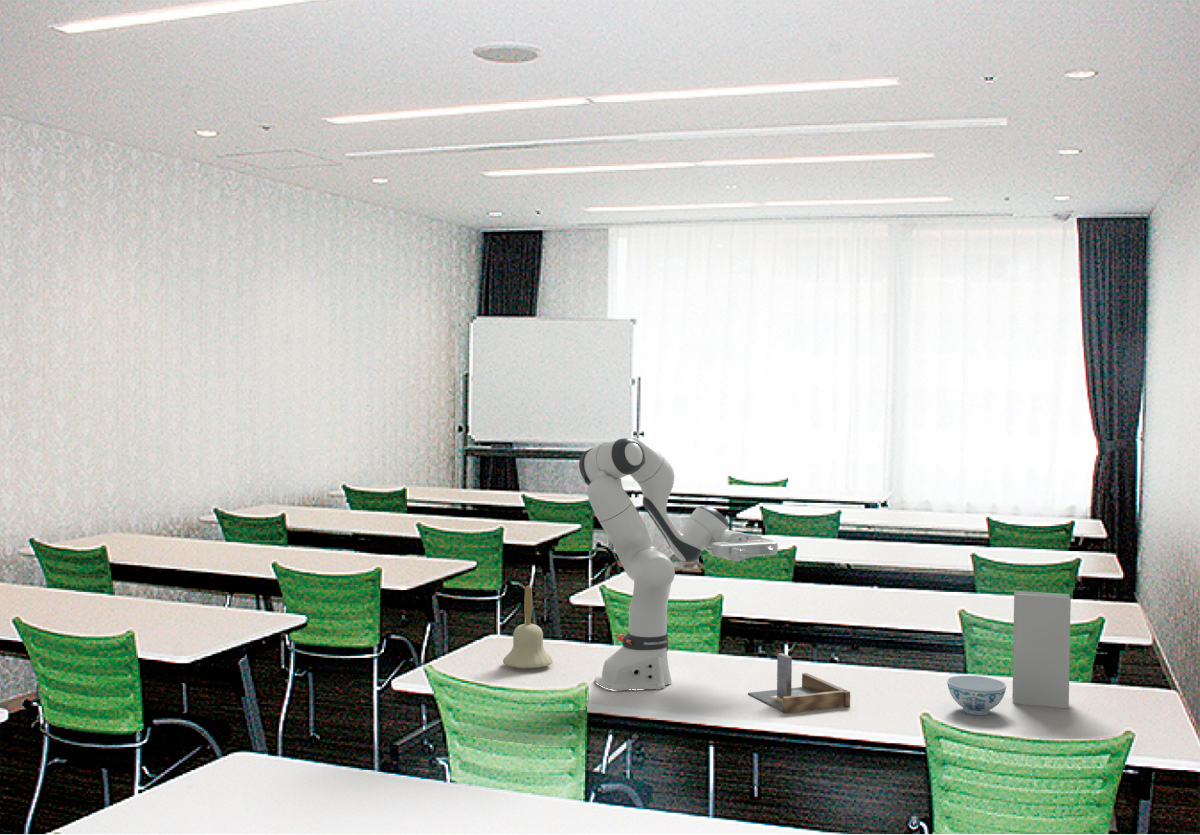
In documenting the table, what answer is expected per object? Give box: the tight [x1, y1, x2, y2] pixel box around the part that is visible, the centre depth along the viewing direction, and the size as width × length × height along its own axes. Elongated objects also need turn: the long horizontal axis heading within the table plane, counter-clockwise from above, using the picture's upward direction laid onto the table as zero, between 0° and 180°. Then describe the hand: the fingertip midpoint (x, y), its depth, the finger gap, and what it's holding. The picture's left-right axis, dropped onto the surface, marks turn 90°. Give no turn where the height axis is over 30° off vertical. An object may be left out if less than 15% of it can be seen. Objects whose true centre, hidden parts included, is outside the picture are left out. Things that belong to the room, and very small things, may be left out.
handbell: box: [502, 585, 554, 669], centre depth 341 cm, size 15×15×25 cm
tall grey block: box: [1011, 590, 1072, 709], centre depth 305 cm, size 14×6×30 cm, turn 71°
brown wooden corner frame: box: [781, 672, 851, 714], centre depth 307 cm, size 20×22×4 cm
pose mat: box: [747, 686, 815, 712], centre depth 307 cm, size 18×18×1 cm
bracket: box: [776, 652, 806, 699], centre depth 307 cm, size 7×5×12 cm
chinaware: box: [946, 675, 1007, 716], centre depth 297 cm, size 15×15×8 cm
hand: (757, 552), depth 325 cm, fingers open, 8 cm apart
